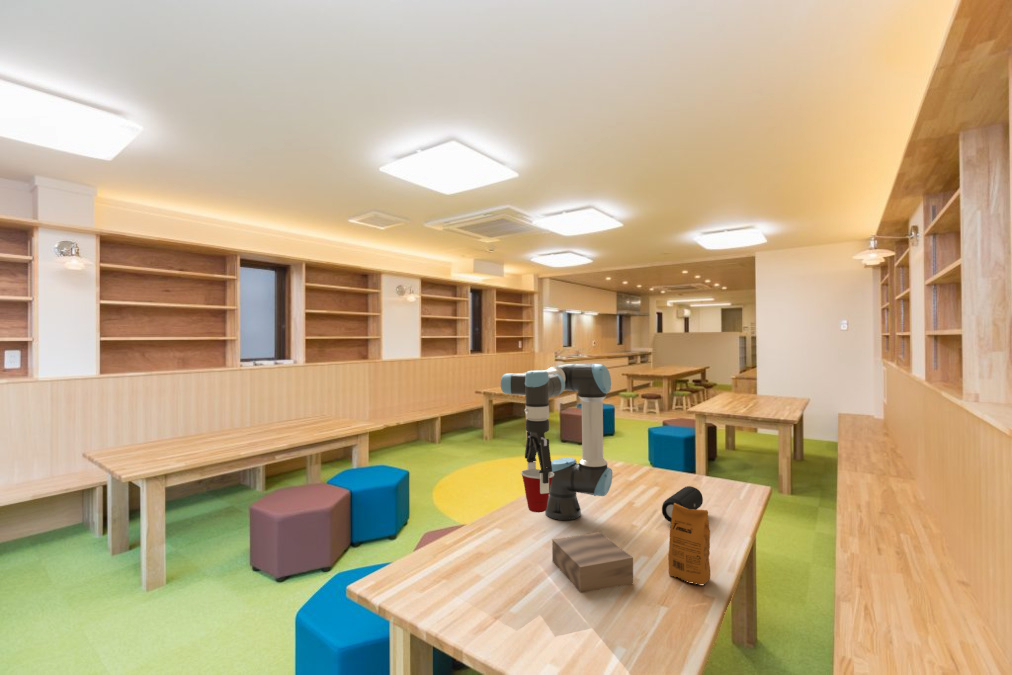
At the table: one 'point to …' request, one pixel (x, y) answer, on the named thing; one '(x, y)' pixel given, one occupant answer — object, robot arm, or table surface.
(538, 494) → the plastic cup
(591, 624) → the table surface
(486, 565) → the table surface
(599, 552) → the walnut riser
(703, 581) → the coffee package
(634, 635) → the table surface
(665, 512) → the portable speaker
